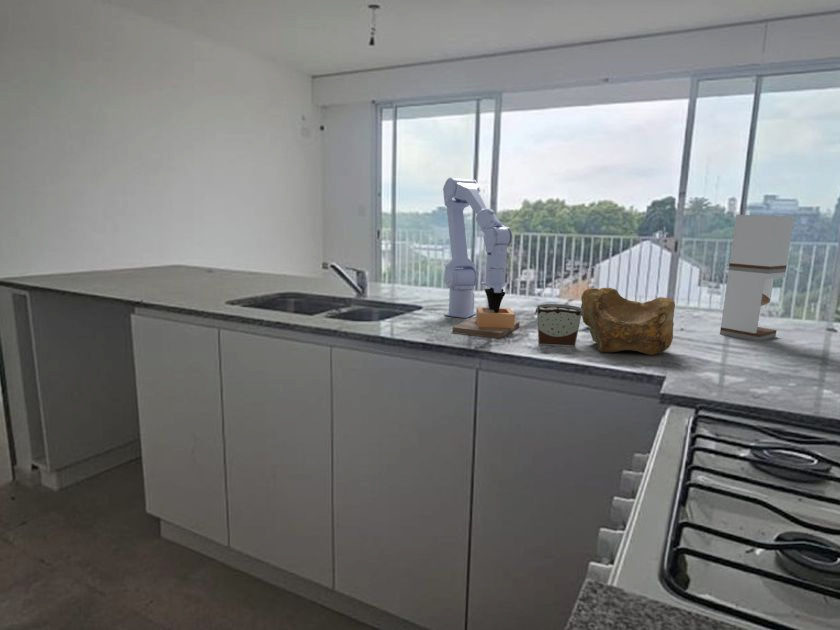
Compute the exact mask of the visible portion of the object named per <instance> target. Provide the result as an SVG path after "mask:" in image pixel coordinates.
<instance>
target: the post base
mask: <svg viewBox="0 0 840 630" xmlns="http://www.w3.org/2000/svg"><path fill="white" fill-rule="evenodd" d="M484 312H486V313H494V310H490V309H486V310H484ZM520 322H521V321H517V320H515V323H514V328H493V327H479V326H478V324H477V321H476V316H475V317H472V318H470V319H467V320H465V321H463V322H461V323H459V324H457V325H455V326H452V333H454V334H455V333H456V334H462V335H470V336H471V335H472V336H478V337H484V338H485V337H486V338H493V339H502V338H503V337H505V336H507V335H508V334H510V333H511V332H513V331H515V330H516V329H518V328H520Z"/></svg>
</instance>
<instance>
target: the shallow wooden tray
mask: <svg viewBox="0 0 840 630" xmlns="http://www.w3.org/2000/svg"><path fill="white" fill-rule="evenodd" d="M486 309H490V308H489V307H481V306H480V307H479V306H477V307H476V311H475V312H476V314H475V315H476V316H475V317H476V321H477V324H478V326H479V327H493V328H514V323H515V321H516V314H515V313H514V311H513V310H512V309H511V308H509V307H508V308H507V307H500V308H499V312H498V313H486V312H484V310H486Z"/></svg>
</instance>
